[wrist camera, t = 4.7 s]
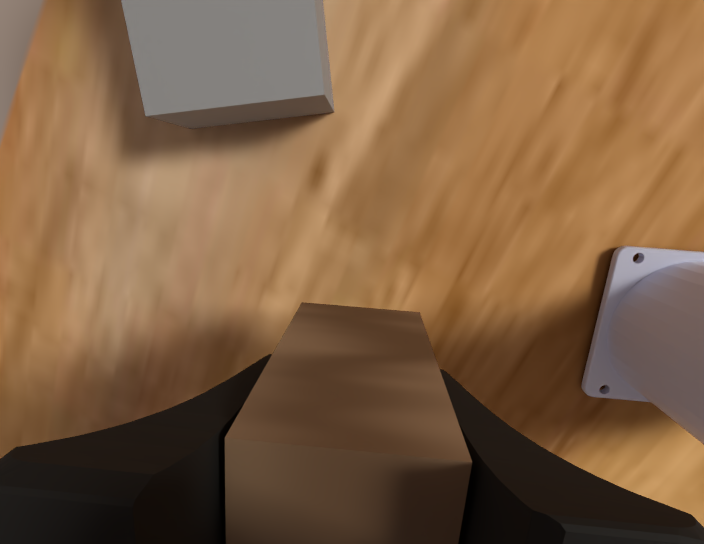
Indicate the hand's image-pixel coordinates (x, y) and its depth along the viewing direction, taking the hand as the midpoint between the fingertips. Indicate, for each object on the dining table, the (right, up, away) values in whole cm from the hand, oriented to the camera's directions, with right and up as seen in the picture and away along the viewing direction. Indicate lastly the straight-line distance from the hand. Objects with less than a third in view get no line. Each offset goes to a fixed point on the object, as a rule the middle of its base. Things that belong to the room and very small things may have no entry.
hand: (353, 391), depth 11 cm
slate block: (-5, +14, +6) cm, 16 cm away
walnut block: (0, +1, +2) cm, 2 cm away
